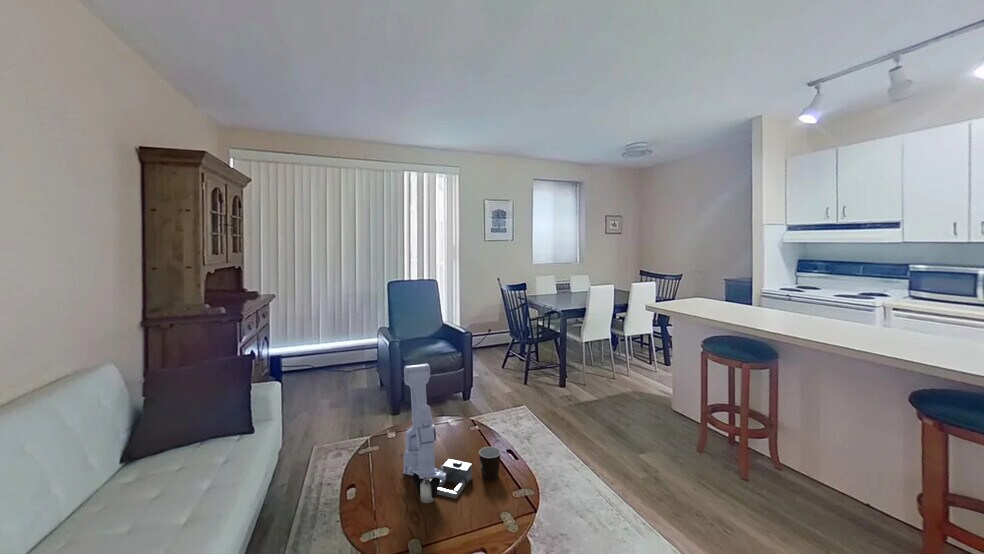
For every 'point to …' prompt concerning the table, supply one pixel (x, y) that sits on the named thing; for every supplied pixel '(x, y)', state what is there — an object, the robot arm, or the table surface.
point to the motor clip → (455, 477)
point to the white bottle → (426, 491)
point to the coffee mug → (489, 462)
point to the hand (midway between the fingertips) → (427, 494)
